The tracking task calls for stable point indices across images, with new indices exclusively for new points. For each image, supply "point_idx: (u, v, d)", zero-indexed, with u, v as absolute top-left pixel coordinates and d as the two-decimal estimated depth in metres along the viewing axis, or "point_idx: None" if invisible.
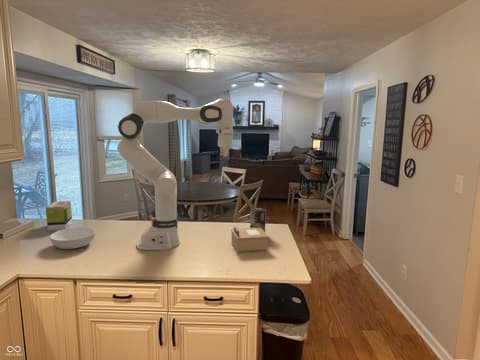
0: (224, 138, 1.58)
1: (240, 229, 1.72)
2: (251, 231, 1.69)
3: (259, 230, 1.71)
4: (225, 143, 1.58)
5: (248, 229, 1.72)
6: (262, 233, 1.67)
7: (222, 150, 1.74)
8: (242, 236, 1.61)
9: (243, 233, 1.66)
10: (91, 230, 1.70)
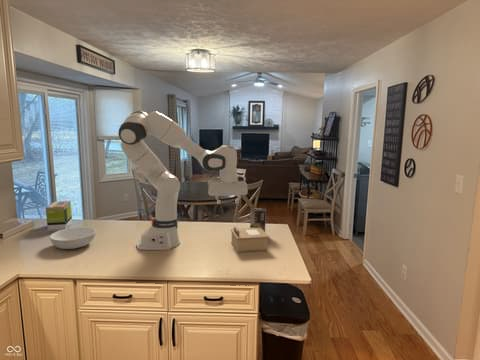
0: (246, 185, 1.61)
1: (240, 229, 1.72)
2: (251, 231, 1.69)
3: (259, 230, 1.71)
4: None
5: (248, 229, 1.72)
6: (262, 233, 1.67)
7: (217, 198, 1.61)
8: (242, 236, 1.61)
9: (243, 233, 1.66)
10: (91, 230, 1.70)
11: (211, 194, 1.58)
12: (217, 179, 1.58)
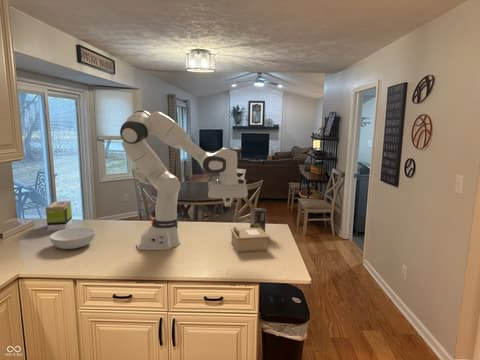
0: None
1: (240, 229, 1.72)
2: (251, 231, 1.69)
3: (259, 230, 1.71)
4: None
5: (248, 229, 1.72)
6: (262, 233, 1.67)
7: (225, 201, 1.62)
8: (242, 236, 1.61)
9: (243, 233, 1.66)
10: (91, 230, 1.70)
11: (211, 196, 1.57)
12: (217, 181, 1.58)
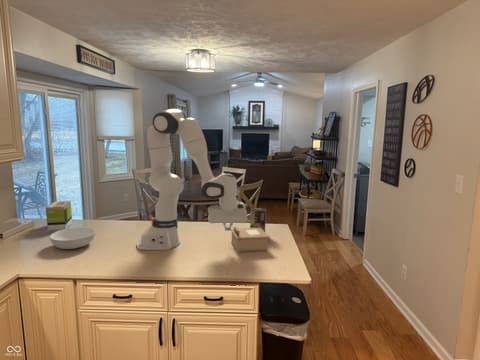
0: (246, 212, 1.63)
1: (240, 229, 1.72)
2: (251, 231, 1.69)
3: (259, 230, 1.71)
4: None
5: (248, 229, 1.72)
6: (262, 233, 1.67)
7: None
8: (242, 236, 1.61)
9: (243, 233, 1.66)
10: (91, 230, 1.70)
11: (211, 222, 1.59)
12: (217, 207, 1.60)
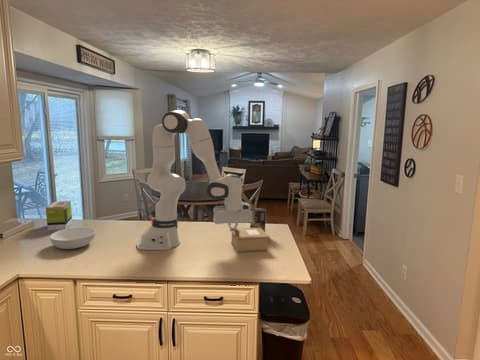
0: (251, 212, 1.64)
1: (240, 229, 1.72)
2: (251, 231, 1.69)
3: (259, 230, 1.71)
4: None
5: (248, 229, 1.72)
6: (262, 233, 1.67)
7: (230, 226, 1.64)
8: (242, 236, 1.61)
9: (243, 233, 1.66)
10: (91, 230, 1.70)
11: (216, 222, 1.60)
12: (222, 207, 1.61)
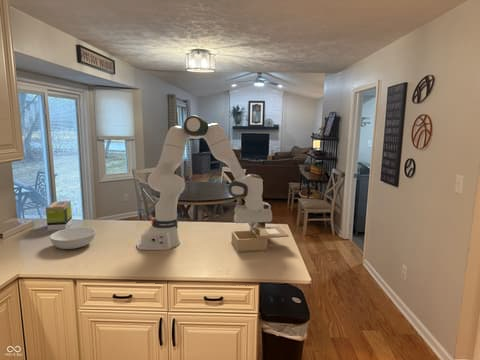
0: (271, 212, 1.67)
1: (259, 228, 1.75)
2: (270, 230, 1.72)
3: (278, 229, 1.74)
4: None
5: (267, 228, 1.75)
6: (281, 232, 1.69)
7: (250, 225, 1.67)
8: (262, 235, 1.64)
9: (263, 232, 1.69)
10: (91, 230, 1.70)
11: (237, 221, 1.63)
12: (243, 207, 1.64)
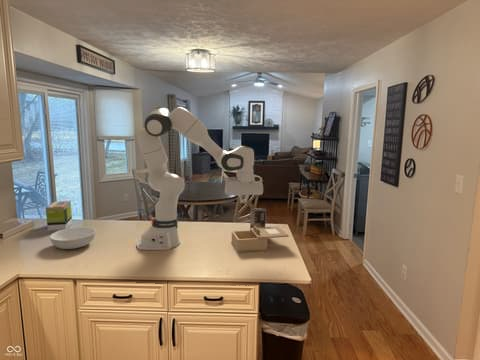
0: (262, 185, 1.65)
1: (259, 228, 1.75)
2: (270, 230, 1.72)
3: (278, 229, 1.74)
4: None
5: (267, 228, 1.75)
6: (281, 232, 1.69)
7: (241, 198, 1.65)
8: (262, 235, 1.64)
9: (263, 232, 1.69)
10: (91, 230, 1.70)
11: (228, 193, 1.61)
12: (234, 178, 1.62)
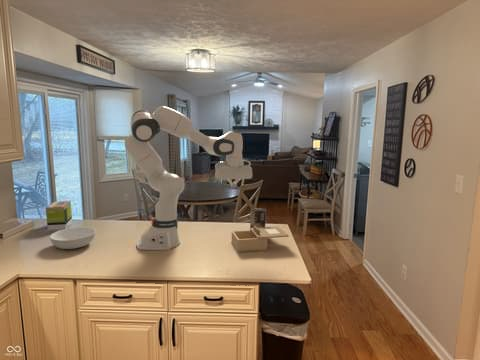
0: (251, 169, 1.71)
1: (259, 228, 1.75)
2: (270, 230, 1.72)
3: (278, 229, 1.74)
4: None
5: (267, 228, 1.75)
6: (281, 232, 1.69)
7: (231, 182, 1.71)
8: (262, 235, 1.64)
9: (263, 232, 1.69)
10: (91, 230, 1.70)
11: (218, 177, 1.67)
12: (224, 163, 1.68)
